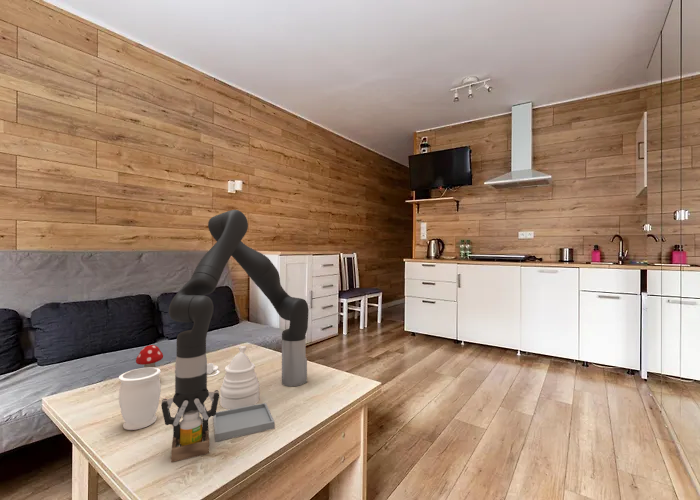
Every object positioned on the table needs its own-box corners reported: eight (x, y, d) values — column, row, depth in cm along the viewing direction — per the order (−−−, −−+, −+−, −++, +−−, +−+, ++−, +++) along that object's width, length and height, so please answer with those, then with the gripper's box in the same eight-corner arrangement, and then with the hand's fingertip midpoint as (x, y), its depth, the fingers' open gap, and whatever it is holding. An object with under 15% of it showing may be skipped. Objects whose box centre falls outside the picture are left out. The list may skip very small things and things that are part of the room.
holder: (208, 435, 92) (208, 425, 92) (209, 453, 85) (209, 441, 85) (173, 443, 89) (173, 432, 89) (171, 462, 81) (171, 450, 81)
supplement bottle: (193, 456, 83) (193, 417, 83) (174, 453, 85) (174, 415, 84) (206, 443, 89) (206, 407, 89) (188, 441, 90) (189, 405, 90)
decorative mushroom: (152, 390, 121) (152, 349, 121) (129, 389, 122) (129, 349, 122) (168, 379, 131) (168, 342, 131) (147, 379, 132) (147, 341, 132)
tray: (266, 408, 108) (266, 402, 108) (274, 428, 96) (274, 421, 96) (213, 419, 101) (213, 412, 101) (215, 441, 90) (215, 434, 90)
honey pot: (229, 392, 120) (229, 343, 120) (264, 392, 120) (264, 343, 120) (213, 409, 108) (213, 354, 108) (252, 410, 107) (252, 355, 107)
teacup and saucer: (214, 368, 145) (214, 359, 145) (225, 372, 140) (225, 363, 140) (195, 374, 138) (195, 365, 138) (205, 379, 133) (205, 369, 133)
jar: (129, 436, 92) (129, 383, 92) (112, 425, 97) (112, 375, 97) (167, 420, 101) (167, 371, 101) (149, 411, 106) (149, 364, 106)
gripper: (219, 362, 93) (219, 422, 93) (161, 370, 87) (161, 434, 87) (221, 371, 86) (221, 436, 86) (158, 380, 80) (158, 450, 80)
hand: (191, 434), depth 87 cm, fingers open, 5 cm apart
